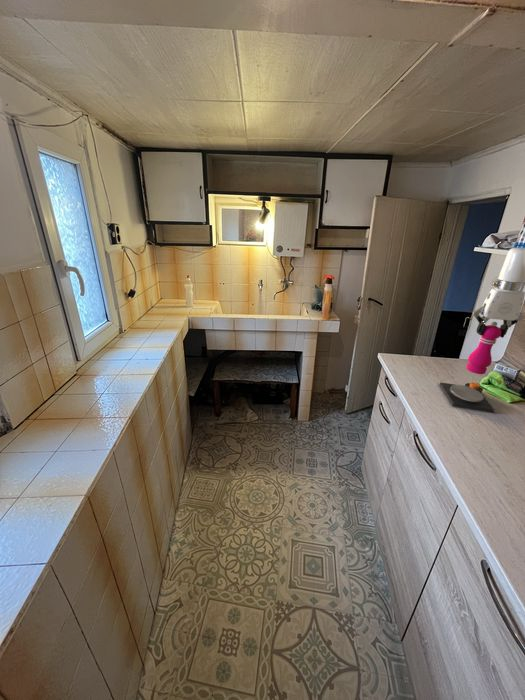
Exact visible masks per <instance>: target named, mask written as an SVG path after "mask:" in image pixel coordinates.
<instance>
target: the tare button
mask: <svg viewBox="0 0 525 700" xmlns="http://www.w3.org/2000/svg"><path fill="white" fill-rule="evenodd" d="M469 383H470V386H469V387H470V388H473V389H476V390H478V389H479V387H481V384H479V383H477V382H473V381H471V382H469Z"/></svg>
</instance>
